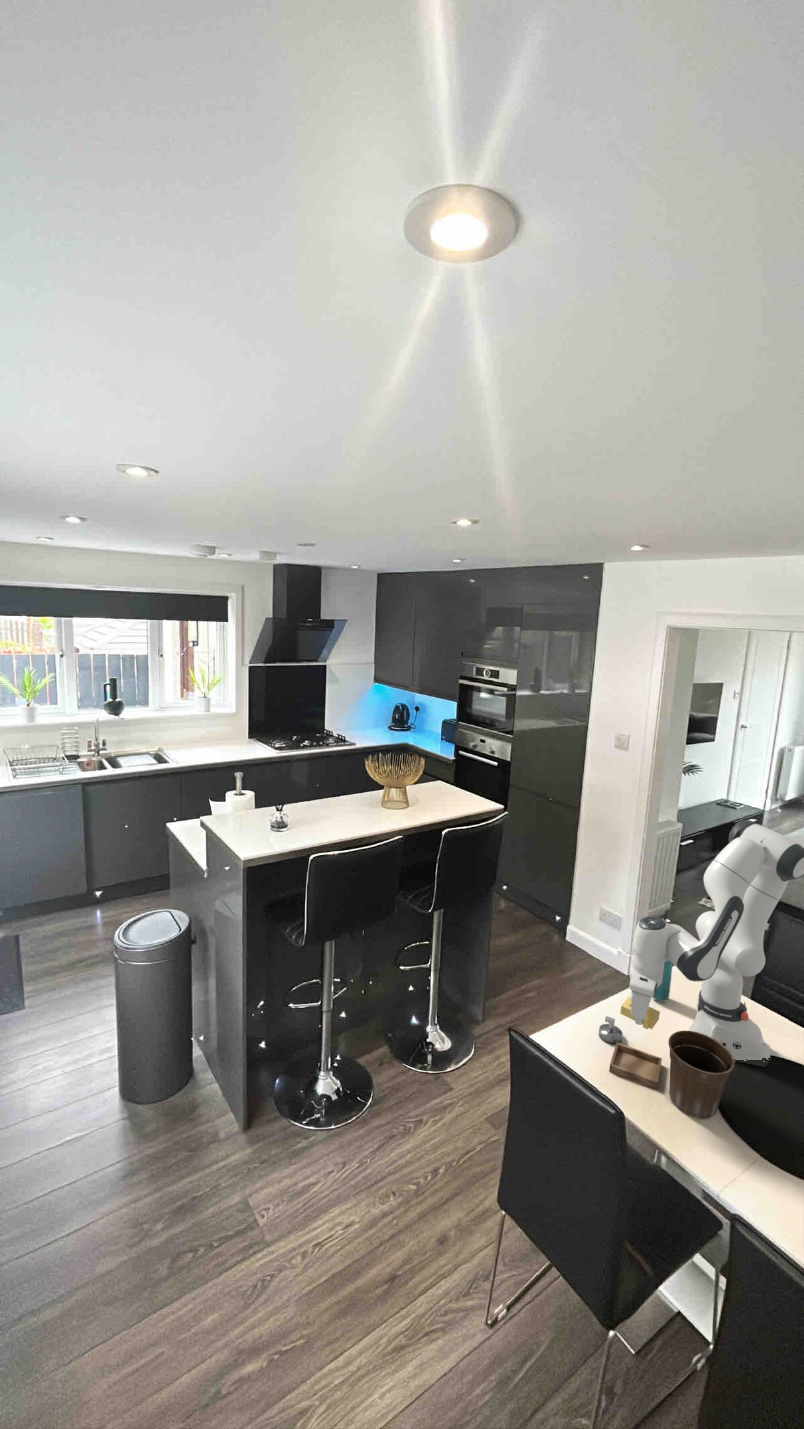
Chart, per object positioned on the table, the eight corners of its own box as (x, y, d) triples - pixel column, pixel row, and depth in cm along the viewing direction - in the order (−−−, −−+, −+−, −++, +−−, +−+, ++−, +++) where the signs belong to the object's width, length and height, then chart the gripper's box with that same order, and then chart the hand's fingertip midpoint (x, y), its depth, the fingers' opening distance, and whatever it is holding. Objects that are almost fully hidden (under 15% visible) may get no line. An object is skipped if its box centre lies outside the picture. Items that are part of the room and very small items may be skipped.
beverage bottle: (670, 1006, 212) (677, 953, 209) (649, 1003, 213) (656, 950, 210) (666, 994, 218) (673, 943, 215) (646, 991, 220) (653, 940, 216)
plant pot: (736, 1107, 170) (745, 1055, 167) (709, 1137, 160) (717, 1082, 157) (679, 1071, 183) (686, 1022, 180) (650, 1097, 173) (657, 1046, 170)
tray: (661, 1064, 185) (661, 1058, 184) (656, 1089, 175) (657, 1082, 175) (615, 1048, 191) (616, 1042, 190) (609, 1071, 181) (609, 1064, 181)
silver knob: (623, 1034, 197) (625, 1017, 196) (619, 1047, 191) (621, 1030, 190) (601, 1026, 201) (602, 1009, 199) (596, 1039, 195) (598, 1021, 193)
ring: (627, 1004, 186) (628, 996, 185) (658, 1019, 180) (660, 1011, 179) (618, 1015, 181) (620, 1007, 180) (650, 1031, 175) (652, 1023, 174)
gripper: (640, 952, 188) (635, 992, 191) (628, 987, 171) (623, 1031, 173) (662, 958, 185) (656, 1000, 188) (653, 995, 168) (647, 1040, 170)
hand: (640, 1015), depth 180 cm, fingers closed on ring, 6 cm apart
